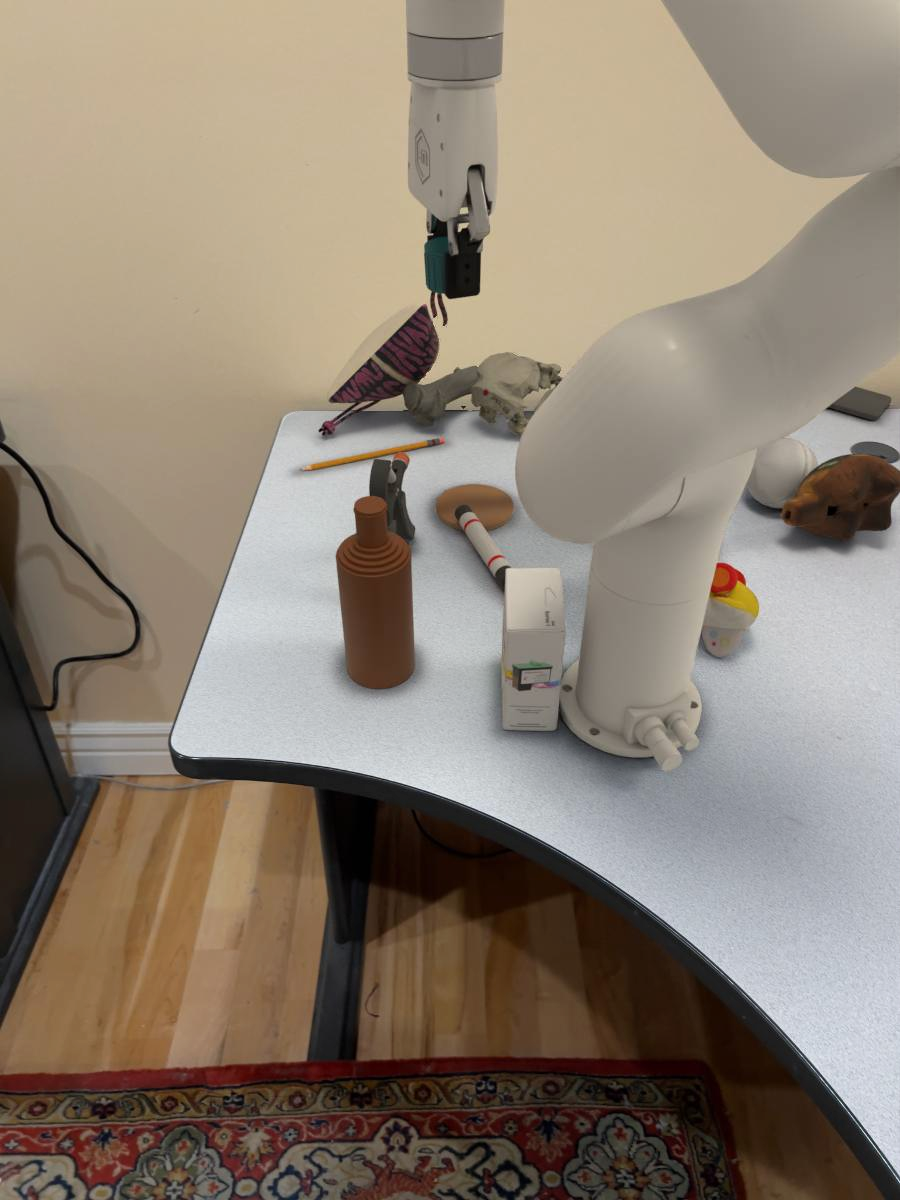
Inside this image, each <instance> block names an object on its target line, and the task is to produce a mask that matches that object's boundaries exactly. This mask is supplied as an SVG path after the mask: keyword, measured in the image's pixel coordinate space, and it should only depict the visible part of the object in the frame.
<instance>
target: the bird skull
mask: <svg viewBox="0 0 900 1200" xmlns="http://www.w3.org/2000/svg"><path fill="white" fill-rule="evenodd" d="M513 353H514V352H513ZM513 353H512V352H509V351H506V352H500V353H499V352H498V353H495V354H491V355H489V356H488V357H486V358H485V359H484V360H483V361H482V362H481V363H480V364H478V365H479V367H478V368H477V372H476V373H477V383H476V384H475V385H474V386H473V387H472V394H471V397H470V401H471V404H472V405H473V406H474V407H475V408H479V407H480V408H479V412H478V416H479V417H480V418H481V419H483V420H484V421H485V422H487V423H488V424H493V425H494V424H496V423H497V419H496V418H497V416H498V414H499V415H501V416H502V417H503V418H504V419H505V421H509V422H508V429H509V431H510V432H511V434H514V435H517V436H519V437H522V434H523V432H524V430H525V428H526V426H527V424H528V422H529V421H530V419H531V418H532V416H533V415H534V414H535V412H536V411H537V410H538V408H539V407H540V406H541V405H542V404H543V402H544V401H545V400H546V399H547V397H548V396H549V395H550V394H551V393H552V391H553V390H554V389H555V388H556V387H557V385H558V384H559V383H560V382H561V381H562V379H563V378H562V377H560V376H558V374H559V373H560V371H561V367H560V366H559V365H557V364H555V363H544V362H541V361H537V360H535V359H533V358H530V357H528V356H522V355H519V356H517V355H518V354H517V355H515V354H513ZM552 385H555V386H554V387H553V388H552ZM546 389H548V390H546ZM540 390H546V391H545V393H544V394H543V396H542V397H541V398H540V400H539V402H538V403H537V405H536V406H535V408H534V409H533V411H532V415H531V416H529V417H527V418H526V417H525V415H524V412H525V411H524V410H525V409H527V408H528V405H526V404H525V400H524V398H526V397H527V396H528V395H529V394H531V393H532V392H536V393H539V392H540ZM514 415H515V418H513V416H514Z"/></svg>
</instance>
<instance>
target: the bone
mask: <svg viewBox="0 0 900 1200" xmlns="http://www.w3.org/2000/svg"><path fill="white" fill-rule="evenodd" d="M477 368H478V367H477V366H476V365H471V366H468V367H464V368H460V367H459V366H456V367H455V368H454V369H453V371H452V372H451V373H449V374H446V375H444V376H443V377H440V378H439V379H437V380H435V381H433V382H430V383H425V384H420V383H409V384H407V385H406V386H405V387H404V389H403V394H402V397H403V401H404V406H405V409H407V410H408V412H409V414H410V415H411V416H412V417H413V418H414V420H415V422H416V423H418V424H420V425H422V426H425V427H433V426H434V421H435V420H436V419H441V418H442V417H443V416H444V414H445V413H446V408H447V405H448V404H450V403H452V402H454V401H457V400H458V399H460V398H462V397H466V396H468V395H472V387H473V386H474V385H475V384H476V383H477V373H476V372H477Z"/></svg>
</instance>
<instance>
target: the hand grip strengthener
mask: <svg viewBox="0 0 900 1200" xmlns="http://www.w3.org/2000/svg"><path fill="white" fill-rule="evenodd" d="M410 461H411V459H410V457H409V455H408V454H407V453H405V452H397V453H394V455H393V458H392V460H390V459H380V458H374V459H373V461H372V466H371V468H370V474H369V482H368V483H369V484H368V493H369V494H368V496H377V497H380V498H382V499H383V500H384V501H385V502H386V504H387V510H386V512H387V531H389V532H392V533H394V534H397V535H398V536H400V537H401V538H403V539H404V540H405V541H412V540H414V539H415V536H416V530H417V529H416V525H415V524H413V522H412V520H411V518H410V515H409V512H408V508H407V498H406V492H405V490H403V481H404V476H405V473H406V470H407V469H408V467H409V464H410Z"/></svg>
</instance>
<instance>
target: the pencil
mask: <svg viewBox="0 0 900 1200" xmlns="http://www.w3.org/2000/svg"><path fill="white" fill-rule="evenodd" d="M444 443H445V438H444V437H440V438H439V437H437V438H433V439H426V441H420V442H415V443H410V444H406V445H401V446H396V447H391V448H386V449H381V450H376V451H371V452H367V453H366V452H365V453H362V454H356V455H352V456H347V457H342V458H341V457H340V458H336V459H332V460H327V461H322V462H317V463H312V464H309V465H306V466H305V467H302V468H300V469H299V471H314V470H318V469H324V468H330V467H334V466H338V465H343V464H348V463H353V462H358V461H362V460H363V461H364V460H368V459H373V458H377V457H382V456H387V455H391V454H396V453H403V452H406V451H412V450H416V449H420V448H425V447H433V446H439V445H441V444H444Z"/></svg>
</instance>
